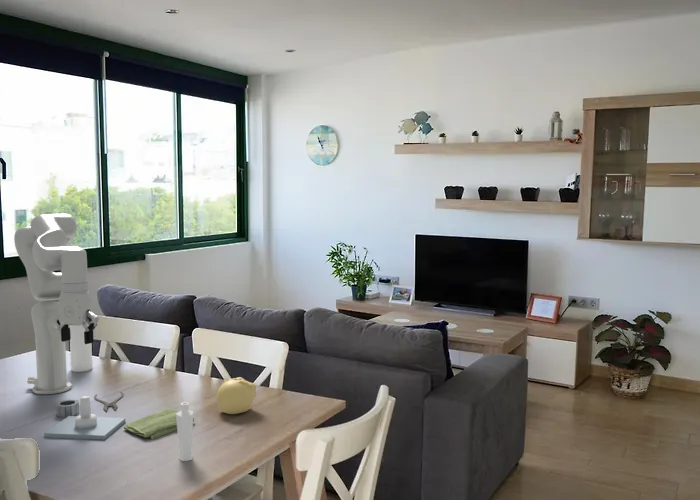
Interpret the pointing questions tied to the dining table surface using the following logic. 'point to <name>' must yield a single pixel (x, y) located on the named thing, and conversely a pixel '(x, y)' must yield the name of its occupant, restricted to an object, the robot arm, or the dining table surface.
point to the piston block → (85, 425)
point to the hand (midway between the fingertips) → (77, 341)
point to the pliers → (107, 405)
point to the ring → (67, 408)
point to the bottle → (79, 350)
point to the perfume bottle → (185, 432)
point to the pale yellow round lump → (235, 395)
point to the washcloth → (154, 424)
